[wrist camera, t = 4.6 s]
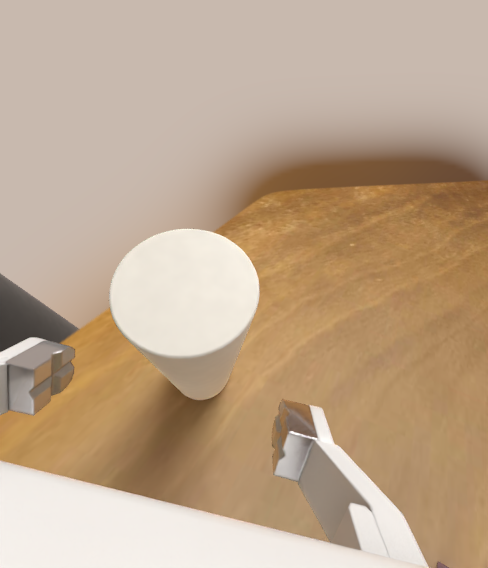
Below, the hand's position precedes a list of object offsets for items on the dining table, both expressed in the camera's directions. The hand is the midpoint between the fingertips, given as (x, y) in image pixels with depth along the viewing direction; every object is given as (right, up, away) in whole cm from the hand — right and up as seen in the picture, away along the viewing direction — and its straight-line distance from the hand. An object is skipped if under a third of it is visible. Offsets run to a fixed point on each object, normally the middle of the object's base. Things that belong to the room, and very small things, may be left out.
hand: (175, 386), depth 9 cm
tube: (-1, -3, +10) cm, 10 cm away
